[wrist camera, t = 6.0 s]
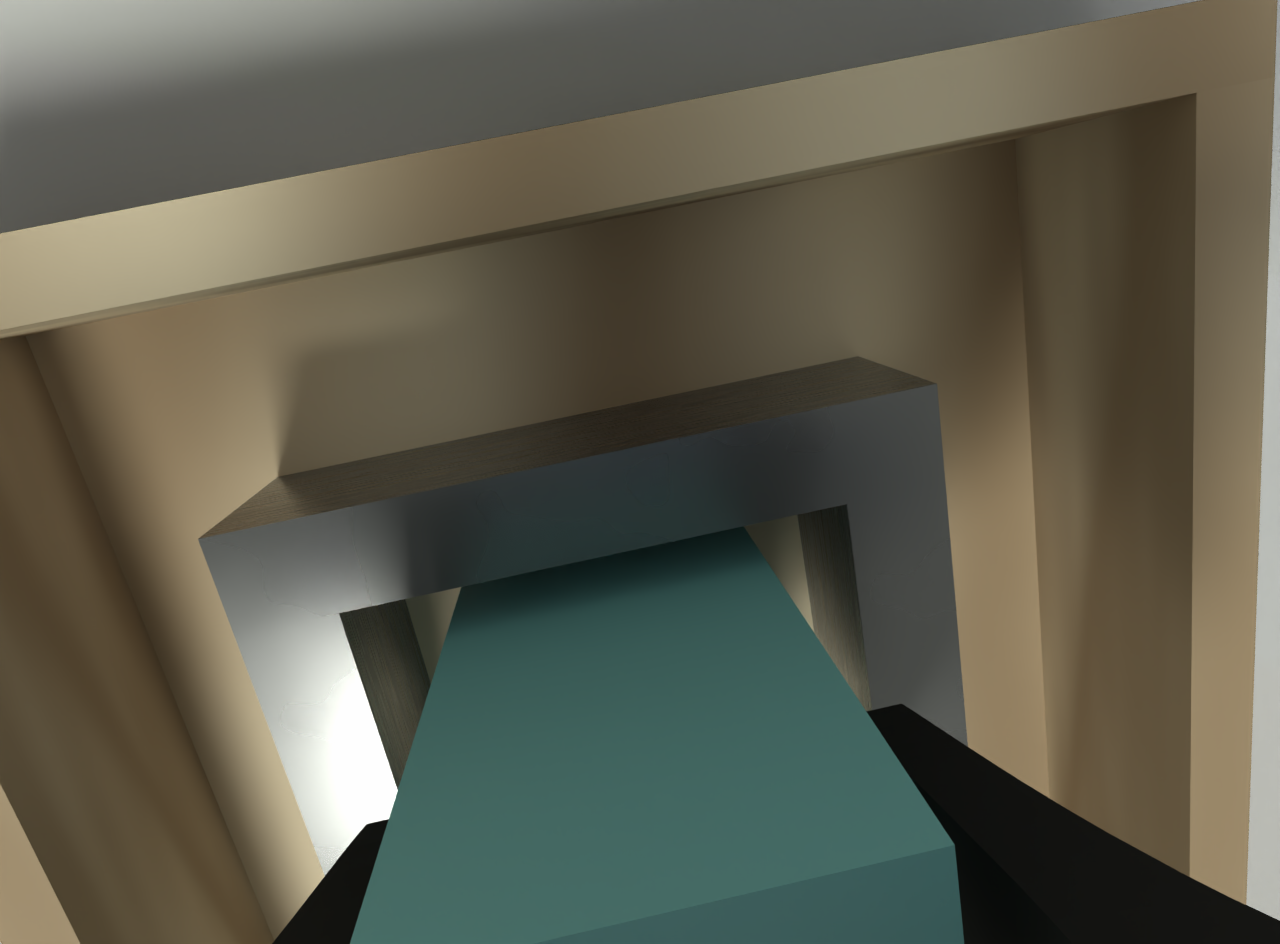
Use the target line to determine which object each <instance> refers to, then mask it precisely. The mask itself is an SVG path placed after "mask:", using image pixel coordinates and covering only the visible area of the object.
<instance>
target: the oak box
mask: <svg viewBox="0 0 1280 944" xmlns="http://www.w3.org/2000/svg"><path fill="white" fill-rule="evenodd" d="M1276 24H1277V0H1202V1H1196V2H1191V3H1186V4H1181V5H1176V6H1171V7H1165V8H1160V9H1155V10H1150V11H1145V12H1140V13H1135V14H1129V15H1124V16H1119V17H1114V18H1109V19H1104V20H1098V21H1093V22H1088V23H1083V24H1078V25H1073V26H1067V27H1062V28H1057V29H1052V30H1047V31H1042V32H1037V33H1031V34H1026V35H1021V36H1016V37H1011V38H1006V39H1000V40H995V41H990V42H985V43H980V44H975V45H970V46H964V47H959V48H954V49H949V50H944V51H939V52H933V53H928V54H923V55H918V56H913V57H908V58H903V59H897V60H892V61H887V62H882V63H877V64H872V65H866V66H861V67H856V68H851V69H846V70H841V71H835V72H830V73H825V74H820V75H815V76H810V77H805V78H799V79H794V80H789V81H784V82H779V83H774V84H768V85H763V86H758V87H753V88H748V89H743V90H738V91H732V92H727V93H722V94H717V95H712V96H707V97H701V98H696V99H691V100H686V101H681V102H676V103H671V104H665V105H660V106H655V107H650V108H645V109H640V110H634V111H629V112H624V113H619V114H614V115H609V116H604V117H598V118H593V119H588V120H583V121H578V122H573V123H567V124H562V125H557V126H552V127H547V128H542V129H536V130H531V131H526V132H521V133H516V134H511V135H506V136H500V137H495V138H490V139H485V140H480V141H475V142H469V143H464V144H459V145H454V146H449V147H444V148H439V149H433V150H428V151H423V152H418V153H413V154H408V155H402V156H397V157H392V158H387V159H382V160H377V161H372V162H366V163H361V164H356V165H351V166H346V167H341V168H335V169H330V170H325V171H320V172H315V173H310V174H304V175H299V176H294V177H289V178H284V179H279V180H274V181H268V182H263V183H258V184H253V185H248V186H243V187H237V188H232V189H227V190H222V191H217V192H212V193H207V194H201V195H196V196H191V197H186V198H181V199H176V200H170V201H165V202H160V203H155V204H150V205H145V206H140V207H134V208H129V209H124V210H119V211H114V212H109V213H103V214H98V215H93V216H88V217H83V218H78V219H73V220H67V221H62V222H57V223H52V224H47V225H42V226H36V227H31V228H26V229H21V230H16V231H11V232H5V233H0V942H1V944H272V943H273V942H274V940H275V939H276V938H277V937H278V935H279V934H280V933H281V932H282V930H283V929H284V928H285V927H286V925H287V924H288V923H289V922H290V920H291V919H292V918H293V917H294V915H295V914H296V913H297V911H298V910H299V909H300V908H301V906H302V905H303V904H304V902H305V901H306V900H307V898H308V897H309V896H310V895H311V893H312V892H313V891H314V889H315V888H316V887H317V886H318V884H319V883H320V882H321V880H322V879H323V878H324V877H325V875H324V873H323V870H322V867H321V865H320V862H319V859H318V857H317V854H316V851H315V849H314V846H313V843H312V841H311V838H310V835H309V833H308V830H307V828H306V825H305V822H304V820H303V817H302V814H301V812H300V809H299V806H298V804H297V801H296V798H295V796H294V793H293V790H292V788H291V785H290V782H289V780H288V777H287V774H286V772H285V769H284V766H283V764H282V761H281V759H280V756H279V753H278V751H277V748H276V745H275V743H274V740H273V737H272V735H271V732H270V729H269V727H268V724H267V721H266V719H265V716H264V713H263V711H262V708H261V705H260V703H259V700H258V698H257V695H256V692H255V690H254V687H253V684H252V682H251V679H250V676H249V674H248V671H247V668H246V666H245V663H244V660H243V658H242V655H241V652H240V650H239V647H238V644H237V642H236V639H235V636H234V634H233V631H232V629H231V626H230V623H229V621H228V618H227V615H226V613H225V610H224V607H223V605H222V602H221V599H220V597H219V594H218V591H217V589H216V586H215V583H214V581H213V578H212V575H211V573H210V570H209V567H208V565H207V562H206V560H205V557H204V554H203V552H202V549H201V546H200V544H199V541H198V538H200V537H201V536H202V535H204V534H205V533H206V532H207V531H209V530H210V529H211V528H213V527H214V526H215V525H216V524H218V523H219V522H220V521H222V520H223V519H224V518H225V517H227V516H228V515H229V514H231V513H232V512H233V511H234V510H236V509H237V508H238V507H240V506H241V505H242V504H243V503H245V502H246V501H247V500H249V499H250V498H251V497H252V496H254V495H255V494H256V493H258V492H259V491H260V490H261V489H263V488H264V487H265V486H267V485H268V484H269V483H270V482H272V481H273V480H274V479H276V478H277V477H279V476H284V475H289V474H294V473H299V472H304V471H308V470H313V469H318V468H323V467H328V466H332V465H337V464H342V463H347V462H352V461H356V460H361V459H366V458H371V457H376V456H380V455H385V454H390V453H395V452H400V451H404V450H409V449H414V448H419V447H424V446H429V445H433V444H438V443H443V442H448V441H453V440H457V439H462V438H467V437H472V436H477V435H481V434H486V433H491V432H496V431H501V430H505V429H510V428H515V427H520V426H525V425H530V424H534V423H539V422H544V421H549V420H554V419H558V418H563V417H568V416H573V415H578V414H582V413H587V412H592V411H597V410H602V409H606V408H611V407H616V406H621V405H626V404H630V403H635V402H640V401H645V400H650V399H655V398H659V397H664V396H669V395H674V394H679V393H683V392H688V391H693V390H698V389H703V388H707V387H712V386H717V385H722V384H727V383H731V382H736V381H741V380H746V379H751V378H755V377H760V376H765V375H770V374H775V373H780V372H784V371H789V370H794V369H799V368H804V367H808V366H813V365H818V364H823V363H828V362H832V361H837V360H842V359H847V358H852V357H856V356H859V357H862V358H865V359H868V360H870V361H873V362H876V363H879V364H882V365H885V366H888V367H891V368H893V369H896V370H899V371H902V372H905V373H908V374H911V375H914V376H917V377H919V378H922V379H925V380H928V381H931V382H934V383H937V388H938V400H939V412H940V424H941V435H942V447H943V459H944V471H945V482H946V494H947V506H948V518H949V529H950V541H951V553H952V565H953V576H954V588H955V600H956V612H957V624H958V635H959V647H960V659H961V671H962V682H963V694H964V706H965V718H966V729H967V741H968V747H969V748H971V749H972V750H974V751H975V752H977V753H978V754H980V755H981V756H983V757H984V758H986V759H987V760H989V761H991V762H992V763H994V764H995V765H997V766H998V767H1000V768H1001V769H1003V770H1005V771H1006V772H1008V773H1009V774H1011V775H1013V776H1014V777H1016V778H1017V779H1019V780H1020V781H1022V782H1024V783H1025V784H1027V785H1029V786H1030V787H1032V788H1033V789H1035V790H1037V791H1038V792H1040V793H1042V794H1043V795H1045V796H1047V797H1048V798H1050V799H1051V800H1053V801H1055V802H1056V803H1058V804H1060V805H1061V806H1063V807H1065V808H1066V809H1068V810H1070V811H1071V812H1073V813H1075V814H1077V815H1078V816H1080V817H1082V818H1084V819H1085V820H1087V821H1089V822H1090V823H1092V824H1094V825H1096V826H1097V827H1099V828H1101V829H1103V830H1104V831H1106V832H1108V833H1109V834H1111V835H1113V836H1115V837H1117V838H1119V839H1120V840H1122V841H1124V842H1126V843H1128V844H1130V845H1131V846H1133V847H1135V848H1137V849H1139V850H1141V851H1142V852H1144V853H1146V854H1148V855H1150V856H1152V857H1153V858H1155V859H1157V860H1159V861H1161V862H1163V863H1164V864H1166V865H1168V866H1170V867H1172V868H1174V869H1176V870H1177V871H1179V872H1181V873H1183V874H1185V875H1187V876H1189V877H1191V878H1193V879H1195V880H1197V881H1198V882H1200V883H1202V884H1204V885H1206V886H1208V887H1210V888H1212V889H1214V890H1216V891H1218V892H1220V893H1222V894H1224V895H1226V896H1228V897H1230V898H1232V899H1234V900H1236V901H1239V902H1241V903H1243V904H1245V905H1246V893H1247V864H1248V835H1249V806H1250V777H1251V748H1252V719H1253V690H1254V661H1255V632H1256V603H1257V574H1258V545H1259V516H1260V487H1261V458H1262V429H1263V400H1264V372H1265V343H1266V314H1267V285H1268V256H1269V227H1270V198H1271V169H1272V140H1273V111H1274V82H1275V53H1276ZM744 528H745V529H746V531H747V532H748V534H749V535H750V537H751V538H752V540H753V541H754V543H755V544H756V546H757V547H758V549H759V550H760V552H761V553H762V555H763V556H764V558H765V559H766V561H767V562H768V564H769V565H770V567H771V568H772V570H773V571H774V573H775V574H776V576H777V577H778V579H779V580H780V582H781V583H782V585H783V587H784V588H785V590H786V591H787V593H788V594H789V596H790V597H791V599H792V600H793V602H794V603H795V605H796V606H797V608H798V609H799V611H800V612H801V614H802V615H803V617H804V618H805V620H806V621H807V623H808V624H809V626H810V627H811V629H812V630H813V632H814V628H813V621H812V614H811V607H810V600H809V593H808V586H807V579H806V572H805V565H804V558H803V551H802V544H801V537H800V530H799V523H798V516H797V515H794V516H789V517H784V518H780V519H775V520H770V521H766V522H761V523H756V524H752V525H747V526H744ZM460 589H461V587H459V588H454V589H449V590H445V591H440V592H436V593H431V594H426V595H422V596H417V597H412V598H408V599H405V600H406V604H407V607H408V610H409V614H410V617H411V620H412V623H413V627H414V630H415V633H416V637H417V640H418V643H419V647H420V650H421V653H422V656H423V660H424V663H425V666H426V670H427V673H428V676H429V680H430V683H431V682H432V679H433V676H434V673H435V670H436V666H437V663H438V660H439V657H440V654H441V650H442V647H443V644H444V641H445V638H446V634H447V631H448V628H449V625H450V621H451V618H452V615H453V612H454V609H455V605H456V602H457V599H458V596H459V593H460Z"/></svg>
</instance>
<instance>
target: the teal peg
mask: <svg viewBox="0 0 1280 944" xmlns="http://www.w3.org/2000/svg"><path fill="white" fill-rule="evenodd" d="M350 944H964V935H963V925H962V914H961V904H960V894H959V884H958V873H957V863H956V853H955V845H954V843H953V842H952V840H951V839H950V837H949V836H948V834H947V833H946V831H945V830H944V828H943V827H942V825H941V823H940V822H939V820H938V819H937V817H936V816H935V814H934V813H933V811H932V810H931V808H930V807H929V805H928V804H927V802H926V801H925V799H924V798H923V796H922V795H921V793H920V792H919V790H918V789H917V787H916V786H915V784H914V783H913V781H912V780H911V778H910V777H909V775H908V774H907V772H906V771H905V769H904V768H903V766H902V765H901V763H900V762H899V760H898V759H897V757H896V756H895V754H894V753H893V751H892V750H891V748H890V747H889V745H888V743H887V742H886V740H885V739H884V737H883V736H882V734H881V733H880V731H879V730H878V728H877V727H876V725H875V724H874V722H873V721H872V719H871V718H870V716H869V715H868V713H867V712H866V710H865V709H864V707H863V706H862V704H861V703H860V701H859V700H858V698H857V697H856V695H855V694H854V692H853V691H852V689H851V688H850V686H849V685H848V683H847V682H846V680H845V679H844V677H843V676H842V674H841V673H840V671H839V670H838V668H837V667H836V665H835V663H834V662H833V660H832V659H831V657H830V656H829V654H828V653H827V651H826V650H825V648H824V647H823V645H822V644H821V642H820V641H819V639H818V638H817V636H816V635H815V633H814V632H813V630H812V629H811V627H810V626H809V624H808V623H807V621H806V620H805V618H804V617H803V615H802V614H801V612H800V611H799V609H798V608H797V606H796V605H795V603H794V602H793V600H792V599H791V597H790V596H789V594H788V593H787V591H786V590H785V588H784V587H783V585H782V583H781V582H780V580H779V579H778V577H777V576H776V574H775V573H774V571H773V570H772V568H771V567H770V565H769V564H768V562H767V561H766V559H765V558H764V556H763V555H762V553H761V552H760V550H759V549H758V547H757V546H756V544H755V543H754V541H753V540H752V538H751V537H750V535H749V534H748V532H747V531H746V529H745V528H744V526H742V527H738V528H733V529H729V530H724V531H719V532H715V533H710V534H705V535H701V536H696V537H691V538H687V539H682V540H677V541H673V542H668V543H663V544H659V545H654V546H649V547H645V548H640V549H636V550H631V551H626V552H622V553H617V554H612V555H608V556H603V557H598V558H594V559H589V560H584V561H580V562H575V563H570V564H566V565H561V566H556V567H552V568H547V569H543V570H538V571H533V572H529V573H524V574H519V575H515V576H510V577H505V578H501V579H496V580H491V581H487V582H482V583H477V584H473V585H468V586H463V587H461V589H460V593H459V596H458V599H457V602H456V605H455V609H454V612H453V615H452V618H451V621H450V625H449V628H448V631H447V634H446V638H445V641H444V644H443V647H442V650H441V654H440V657H439V660H438V663H437V666H436V670H435V673H434V676H433V679H432V682H431V686H430V689H429V692H428V695H427V698H426V702H425V705H424V708H423V711H422V714H421V718H420V721H419V724H418V727H417V730H416V734H415V737H414V740H413V743H412V746H411V750H410V753H409V756H408V759H407V762H406V766H405V769H404V772H403V775H402V778H401V782H400V785H399V788H398V791H397V794H396V798H395V801H394V804H393V807H392V810H391V814H390V817H389V820H388V823H387V826H386V830H385V833H384V836H383V839H382V842H381V846H380V849H379V852H378V855H377V858H376V862H375V865H374V868H373V871H372V874H371V878H370V881H369V884H368V887H367V890H366V894H365V897H364V900H363V903H362V906H361V910H360V913H359V916H358V919H357V922H356V926H355V929H354V932H353V935H352V938H351V942H350Z"/></svg>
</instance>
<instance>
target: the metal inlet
mask: <svg viewBox="0 0 1280 944" xmlns="http://www.w3.org/2000/svg"><path fill="white" fill-rule="evenodd" d="M794 515H797V516H798V523H799V530H800V537H801V544H802V551H803V558H804V565H805V572H806V579H807V586H808V593H809V600H810V607H811V614H812V621H813V628H814V633H815V635H816V636H817V638H818V639H819V641H820V642H821V644H822V645H823V647H824V648H825V650H826V651H827V653H828V654H829V656H830V657H831V659H832V660H833V662H834V663H835V665H836V667H837V668H838V670H839V671H840V673H841V674H842V676H843V677H844V679H845V680H846V682H847V683H848V685H849V686H850V688H851V689H852V691H853V692H854V694H855V695H856V697H857V698H858V700H859V701H860V703H861V704H862V706H863V707H864V709H865V710H866V711H871V710H875V709H879V708H884V707H888V706H893V705H897V704H903V705H905V706H906V707H908V708H910V709H911V710H913V711H914V712H916V713H917V714H919V715H920V716H922V717H923V718H925V719H927V720H928V721H930V722H931V723H933V724H934V725H936V726H937V727H939V728H940V729H942V730H943V731H945V732H946V733H948V734H949V735H951V736H952V737H954V738H955V739H957V740H958V741H960V742H961V743H963V744H964V745H966V746H967V747H968V741H967V729H966V718H965V706H964V694H963V682H962V671H961V659H960V647H959V635H958V624H957V612H956V600H955V588H954V576H953V565H952V553H951V541H950V529H949V518H948V506H947V494H946V482H945V471H944V459H943V447H942V435H941V424H940V412H939V400H938V388H937V383H934V382H931V381H928V380H925V379H922V378H919V377H917V376H914V375H911V374H908V373H905V372H902V371H899V370H896V369H893V368H891V367H888V366H885V365H882V364H879V363H876V362H873V361H870V360H868V359H865V358H862V357H859V356H856V357H852V358H847V359H842V360H837V361H832V362H828V363H823V364H818V365H813V366H808V367H804V368H799V369H794V370H789V371H784V372H780V373H775V374H770V375H765V376H760V377H755V378H751V379H746V380H741V381H736V382H731V383H727V384H722V385H717V386H712V387H707V388H703V389H698V390H693V391H688V392H683V393H679V394H674V395H669V396H664V397H659V398H655V399H650V400H645V401H640V402H635V403H630V404H626V405H621V406H616V407H611V408H606V409H602V410H597V411H592V412H587V413H582V414H578V415H573V416H568V417H563V418H558V419H554V420H549V421H544V422H539V423H534V424H530V425H525V426H520V427H515V428H510V429H505V430H501V431H496V432H491V433H486V434H481V435H477V436H472V437H467V438H462V439H457V440H453V441H448V442H443V443H438V444H433V445H429V446H424V447H419V448H414V449H409V450H404V451H400V452H395V453H390V454H385V455H380V456H376V457H371V458H366V459H361V460H356V461H352V462H347V463H342V464H337V465H332V466H328V467H323V468H318V469H313V470H308V471H304V472H299V473H294V474H289V475H284V476H279V477H277V478H276V479H274V480H273V481H272V482H270V483H269V484H268V485H267V486H265V487H264V488H263V489H261V490H260V491H259V492H258V493H256V494H255V495H254V496H252V497H251V498H250V499H249V500H247V501H246V502H245V503H243V504H242V505H241V506H240V507H238V508H237V509H236V510H234V511H233V512H232V513H231V514H229V515H228V516H227V517H225V518H224V519H223V520H222V521H220V522H219V523H218V524H216V525H215V526H214V527H213V528H211V529H210V530H209V531H207V532H206V533H205V534H204V535H202V536H201V537H200V538H198V541H199V544H200V546H201V549H202V552H203V554H204V557H205V560H206V562H207V565H208V567H209V570H210V573H211V575H212V578H213V581H214V583H215V586H216V589H217V591H218V594H219V597H220V599H221V602H222V605H223V607H224V610H225V613H226V615H227V618H228V621H229V623H230V626H231V629H232V631H233V634H234V636H235V639H236V642H237V644H238V647H239V650H240V652H241V655H242V658H243V660H244V663H245V666H246V668H247V671H248V674H249V676H250V679H251V682H252V684H253V687H254V690H255V692H256V695H257V698H258V700H259V703H260V705H261V708H262V711H263V713H264V716H265V719H266V721H267V724H268V727H269V729H270V732H271V735H272V737H273V740H274V743H275V745H276V748H277V751H278V753H279V756H280V759H281V761H282V764H283V766H284V769H285V772H286V774H287V777H288V780H289V782H290V785H291V788H292V790H293V793H294V796H295V798H296V801H297V804H298V806H299V809H300V812H301V814H302V817H303V820H304V822H305V825H306V828H307V830H308V833H309V835H310V838H311V841H312V843H313V846H314V849H315V851H316V854H317V857H318V859H319V862H320V865H321V867H322V870H323V873H324V875H326V874H327V873H328V871H329V870H330V869H331V867H332V866H333V865H334V864H335V862H336V861H337V860H338V858H339V857H340V856H341V855H342V853H343V852H344V851H345V850H346V848H347V847H348V846H349V845H350V843H351V842H352V841H353V840H354V838H355V837H356V836H357V835H358V834H359V832H360V831H361V830H362V829H363V828H364V826H365V825H366V824H369V823H373V822H378V821H382V820H387V819H389V817H390V814H391V810H392V807H393V804H394V801H395V798H396V794H397V791H398V788H399V785H400V782H401V778H402V775H403V772H404V769H405V766H406V762H407V759H408V756H409V753H410V750H411V746H412V743H413V740H414V737H415V734H416V730H417V727H418V724H419V721H420V718H421V714H422V711H423V708H424V705H425V702H426V698H427V695H428V692H429V689H430V686H431V683H430V680H429V676H428V673H427V670H426V666H425V663H424V660H423V656H422V653H421V650H420V647H419V643H418V640H417V637H416V633H415V630H414V627H413V623H412V620H411V617H410V614H409V610H408V607H407V604H406V600H405V599H408V598H412V597H417V596H422V595H426V594H431V593H436V592H440V591H445V590H449V589H454V588H459V587H463V586H468V585H473V584H477V583H482V582H487V581H491V580H496V579H501V578H505V577H510V576H515V575H519V574H524V573H529V572H533V571H538V570H543V569H547V568H552V567H556V566H561V565H566V564H570V563H575V562H580V561H584V560H589V559H594V558H598V557H603V556H608V555H612V554H617V553H622V552H626V551H631V550H636V549H640V548H645V547H649V546H654V545H659V544H663V543H668V542H673V541H677V540H682V539H687V538H691V537H696V536H701V535H705V534H710V533H715V532H719V531H724V530H729V529H733V528H738V527H742V526H747V525H752V524H756V523H761V522H766V521H770V520H775V519H780V518H784V517H789V516H794Z"/></svg>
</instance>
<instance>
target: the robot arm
mask: <svg viewBox="0 0 1280 944" xmlns="http://www.w3.org/2000/svg"><path fill="white" fill-rule="evenodd" d="M866 712H867V713H868V715H869V716H870V718H871V719H872V721H873V722H874V724H875V725H876V727H877V728H878V730H879V731H880V733H881V734H882V736H883V737H884V739H885V740H886V742H887V743H888V745H889V747H890V748H891V750H892V751H893V753H894V754H895V756H896V757H897V759H898V760H899V762H900V763H901V765H902V766H903V768H904V769H905V771H906V772H907V774H908V775H909V777H910V778H911V780H912V781H913V783H914V784H915V786H916V787H917V789H918V790H919V792H920V793H921V795H922V796H923V798H924V799H925V801H926V802H927V804H928V805H929V807H930V808H931V810H932V811H933V813H934V814H935V816H936V817H937V819H938V820H939V822H940V823H941V825H942V827H943V828H944V830H945V831H946V833H947V834H948V836H949V837H950V839H951V840H952V842H953V843H954V845H955V853H956V863H957V873H958V884H959V894H960V904H961V914H962V925H963V935H964V944H1280V921H1279V920H1277V919H1275V918H1272V917H1270V916H1268V915H1266V914H1264V913H1262V912H1260V911H1258V910H1256V909H1253V908H1251V907H1249V906H1247V905H1245V904H1243V903H1241V902H1239V901H1236V900H1234V899H1232V898H1230V897H1228V896H1226V895H1224V894H1222V893H1220V892H1218V891H1216V890H1214V889H1212V888H1210V887H1208V886H1206V885H1204V884H1202V883H1200V882H1198V881H1197V880H1195V879H1193V878H1191V877H1189V876H1187V875H1185V874H1183V873H1181V872H1179V871H1177V870H1176V869H1174V868H1172V867H1170V866H1168V865H1166V864H1164V863H1163V862H1161V861H1159V860H1157V859H1155V858H1153V857H1152V856H1150V855H1148V854H1146V853H1144V852H1142V851H1141V850H1139V849H1137V848H1135V847H1133V846H1131V845H1130V844H1128V843H1126V842H1124V841H1122V840H1120V839H1119V838H1117V837H1115V836H1113V835H1111V834H1109V833H1108V832H1106V831H1104V830H1103V829H1101V828H1099V827H1097V826H1096V825H1094V824H1092V823H1090V822H1089V821H1087V820H1085V819H1084V818H1082V817H1080V816H1078V815H1077V814H1075V813H1073V812H1071V811H1070V810H1068V809H1066V808H1065V807H1063V806H1061V805H1060V804H1058V803H1056V802H1055V801H1053V800H1051V799H1050V798H1048V797H1047V796H1045V795H1043V794H1042V793H1040V792H1038V791H1037V790H1035V789H1033V788H1032V787H1030V786H1029V785H1027V784H1025V783H1024V782H1022V781H1020V780H1019V779H1017V778H1016V777H1014V776H1013V775H1011V774H1009V773H1008V772H1006V771H1005V770H1003V769H1001V768H1000V767H998V766H997V765H995V764H994V763H992V762H991V761H989V760H987V759H986V758H984V757H983V756H981V755H980V754H978V753H977V752H975V751H974V750H972V749H971V748H969V747H967V746H966V745H964V744H963V743H961V742H960V741H958V740H957V739H955V738H954V737H952V736H951V735H949V734H948V733H946V732H945V731H943V730H942V729H940V728H939V727H937V726H936V725H934V724H933V723H931V722H930V721H928V720H927V719H925V718H923V717H922V716H920V715H919V714H917V713H916V712H914V711H913V710H911V709H910V708H908V707H906V706H905V705H903V704H897V705H893V706H888V707H884V708H879V709H875V710H871V711H866ZM388 820H389V819H387V820H382V821H378V822H373V823H369V824H366V825H365V826H364V828H363V829H362V830H361V831H360V832H359V834H358V835H357V836H356V837H355V838H354V840H353V841H352V842H351V843H350V845H349V846H348V847H347V848H346V850H345V851H344V852H343V853H342V855H341V856H340V857H339V858H338V860H337V861H336V862H335V864H334V865H333V866H332V867H331V869H330V870H329V871H328V873H327V874H326V875H325V877H324V878H323V879H322V880H321V882H320V883H319V884H318V886H317V887H316V888H315V889H314V891H313V892H312V893H311V895H310V896H309V897H308V898H307V900H306V901H305V902H304V904H303V905H302V906H301V908H300V909H299V910H298V911H297V913H296V914H295V915H294V917H293V918H292V919H291V920H290V922H289V923H288V924H287V925H286V927H285V928H284V929H283V930H282V932H281V933H280V934H279V935H278V937H277V938H276V939H275V940H274V942H273V943H272V944H350V942H351V938H352V935H353V932H354V929H355V926H356V922H357V919H358V916H359V913H360V910H361V906H362V903H363V900H364V897H365V894H366V890H367V887H368V884H369V881H370V878H371V874H372V871H373V868H374V865H375V862H376V858H377V855H378V852H379V849H380V846H381V842H382V839H383V836H384V833H385V830H386V826H387V823H388Z"/></svg>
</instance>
